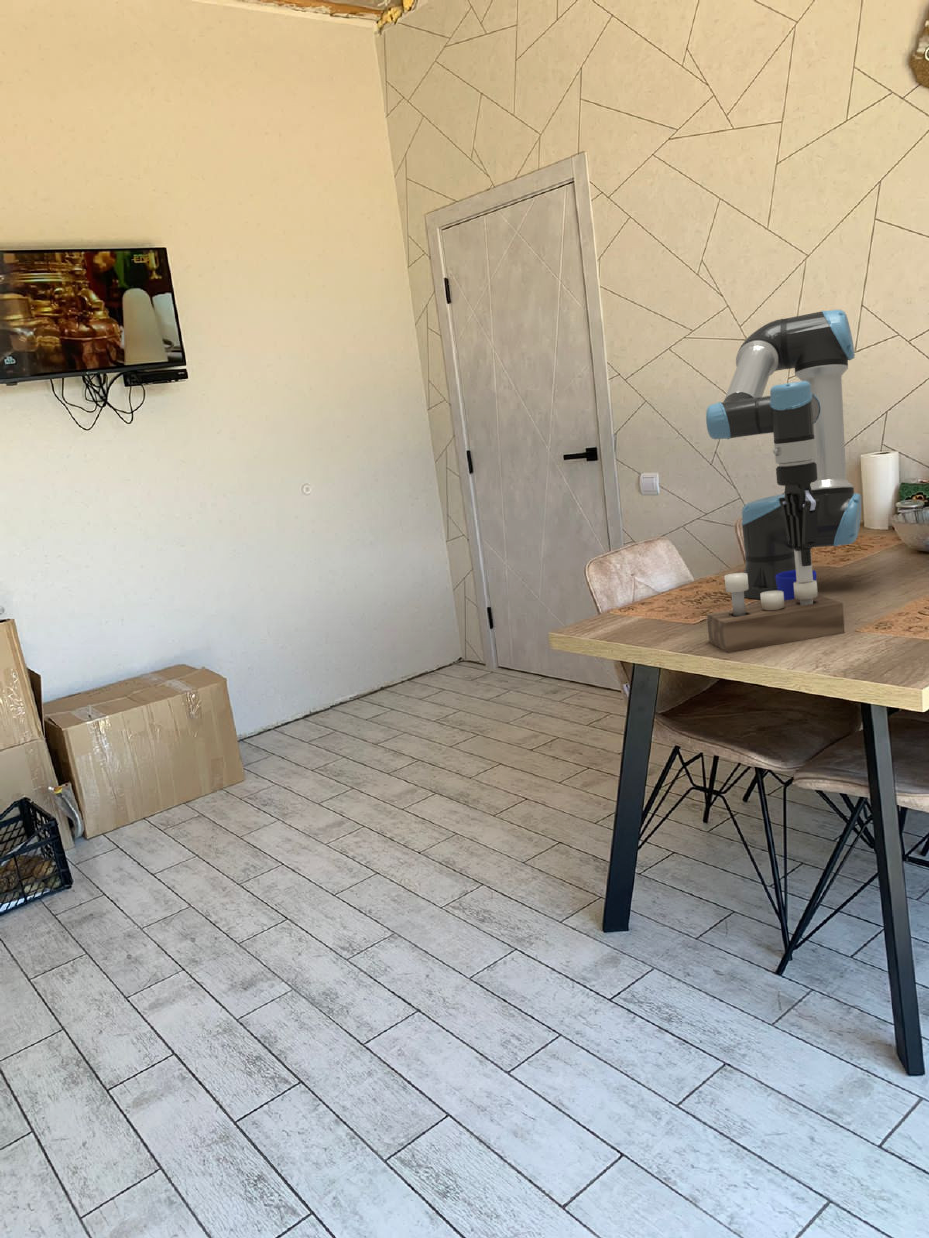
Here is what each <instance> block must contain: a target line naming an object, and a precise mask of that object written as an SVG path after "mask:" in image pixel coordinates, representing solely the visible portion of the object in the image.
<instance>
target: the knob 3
mask: <svg viewBox="0 0 929 1238" xmlns="http://www.w3.org/2000/svg"><path fill="white" fill-rule="evenodd" d="M793 584H794V597H795V599H800V605H802V606H803V605H809V604H813V598H816V597H818V595H819V594H818V581H817V580H816V581H815V580H813V581H809V582H803V583H799V582H794V583H793Z"/></svg>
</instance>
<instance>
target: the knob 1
mask: <svg viewBox="0 0 929 1238" xmlns="http://www.w3.org/2000/svg"><path fill="white" fill-rule="evenodd" d="M723 577H724V583H725V584H724V586H725V592H726V593H731V603H732V609H733V617H739V616H744V615H746V611H745V607H746V601H745V597H744V591H746V590H748V589H749V586H748V575H747V573H744V572H735V573H728V574H725V575H724V576H723Z"/></svg>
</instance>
